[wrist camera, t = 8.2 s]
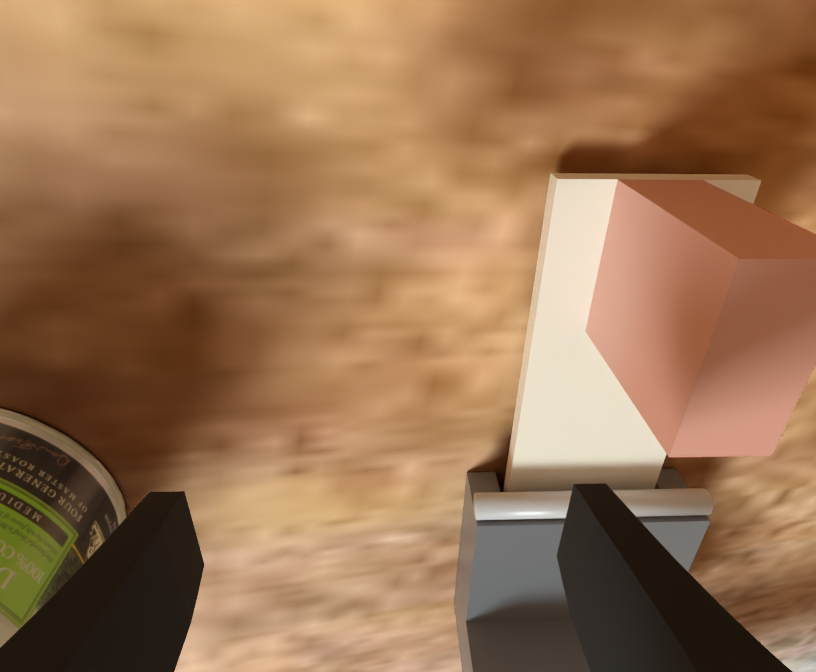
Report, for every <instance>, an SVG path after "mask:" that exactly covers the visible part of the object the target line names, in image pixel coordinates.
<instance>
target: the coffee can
mask: <svg viewBox="0 0 816 672" xmlns="http://www.w3.org/2000/svg"><path fill="white" fill-rule="evenodd" d="M126 517H127V515H126V508H125V503H124V499H123V496H122V493H121V492H120V490H119V488H118V486H117V484H116V482H115V481H114V479H113V478H112V476H111V475H110V473H109V472H108V471H107V470H106V468H105V467H104V466H103V465H102V464H101V463H100V462H99V461H98V460H97V459H96V458H95V457H94V456H93V455H92V454H91V453H90V452H89V451H87V450H86V449H85V448H84V447H83V446H81V445H80V444H79V443H77V442H76V441H74V440H73V439H71V438H70V437H68V436H67V435H65V434H63V433H62V432H60V431H58V430H56V429H54V428H52V427H49V426H47V425H45V424H43V423H41V422H39V421H38V420H35V419H32V418H30V417H28V416H25V415H23V414H20V413H17V412H14V411H10V410H6V409H2V408H0V647H1V646H2V645H4V644H5V643H6V642H7V641H8V640H9V639H10V638H11V637H12V636H13V635H14V634H15V633H16V632H17V631H18V630H19V629H20V628H21V627H22V626H23V625H24V624H25V623H26V622H27V621H28V620H29V619H30V618H31V617H32V616H33V615H34V614H35V613H36V612H37V611H38V610H39V609H40V608H41V607H42V606H43V605H44V604H45V603H46V602H47V601H48V600H49V599H50V598H51V597H52V596H53V595H54V594H55V593H56V592H57V591H58V590H59V589H60V588H61V587H62V586H63V585H64V584H65V583H66V582H67V580H68V579H69V578H70V577H71V576H72V575H73V574H74V573H75V572H76V571H77V570H78V569H79V568H80V567H81V566H82V565H83V564H84V563H85V562H86V561H87V560H88V558H89V557H90V556H91V555H92V554H93V553H94V552H95V551H96V550H97V549H98V548H99V547H100V546H101V544H102V543H103V542H104V541H105V540H106V539H107V538H108V537H109V536H110V535H111V534H112V533H113V531H114V530H115V529H116V528H117V527H118V526H119V525H120V524H121V523H122V522H123V520H124V519H125V518H126Z"/></svg>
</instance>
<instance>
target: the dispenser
mask: <svg viewBox="0 0 816 672" xmlns="http://www.w3.org/2000/svg"><path fill="white" fill-rule="evenodd" d="M612 491H613V492H614V493H615V494H616V495H617V496H618V497H619V498H620V499H621V500H622V501H623V503H624V504H625V505H626V506H627V507H628V508H629V509H630V510H631V511H632V512H633V514H634V515H635V516H636V517H637V518H638V519H639V520H640V521H641V522H642V523H643V525H644V526H645V527H646V528H647V529H648V530H649V531H650V532H651V533H652V534H653V535H654V537H655V538H656V539H657V540H658V541H659V542H660V543H661V544H662V545H663V546H664V547H665V548H666V550H667V551H668V552H669V553H670V554H671V555H672V556H673V557H674V558H675V559H676V560H677V561H678V562H679V563H680V564H681V565H682V566H683V567H684V568H685V569H686V570H687V571H689V569H690V567H691V564H692V562H693V560H694V558H695V555H696V553H697V551H698V549H699V546H700V544H701V542H702V539H703V537H704V535H705V533H706V530H707V528H708V526H709V524H710V519H709V518H708V516H707V515H710V514H711V513H712V511H713V499H712V496H711V494H710V493H709V491H708V490H707V489H705V488H688V486H687V485H686V483H685V482H684V480H683V479H682V477H681V476H680V474H679V473H678V471H677V470H676V469H661V471H660V474H659V477H658V480H657V483H656V486H655V489H638V490H612ZM571 494H572V491H537V492H500V489H499V485H498V481H497V477H496V473H495V472H467V477H466V487H465V497H464V507H463V517H462V527H461V537H460V548H459V558H458V568H457V578H456V588H455V598H454V607H455V615H456V623H457V631H458V639H459V647H460V655H461V663H462V671H463V672H590V669H589V666H588V663H587V660H586V658H585V655H584V652H583V649H582V646H581V643H580V640H579V638H578V635H577V632H576V629H575V626H574V623H573V620H572V617H571V614H570V611H569V607H568V603H567V599H566V595H565V591H564V587H563V582H562V578H561V573H560V569H559V564H558V560H557V552H558V548H559V544H560V539H561V535H562V531H563V527H564V523H565V519H566V514H567V510H568V506H569V502H570V498H571Z"/></svg>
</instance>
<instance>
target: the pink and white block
mask: <svg viewBox="0 0 816 672" xmlns="http://www.w3.org/2000/svg"><path fill="white" fill-rule="evenodd" d="M761 181H762V180H760V179H757V178H755V177H752V176H750V175H745V174H610V173H550V180H549V186H548V193H547V200H546V207H545V213H544V220H543V227H542V233H541V240H540V247H539V253H538V260H537V267H536V274H535V280H534V287H533V294H532V300H531V307H530V314H529V320H528V327H527V334H526V341H525V347H524V354H523V361H522V367H521V374H520V381H519V388H518V394H517V401H516V408H515V414H514V421H513V428H512V434H511V441H510V448H509V455H508V461H507V468H506V475H505V481H504V488H503V492H537V491H572V489H573V485H574V484H596V483H606V484H607V485H608V486H609V487H610V488H611V489H612V490H638V489H655V486H656V483H657V480H658V477H659V474H660V471H661V468H662V466H663V463H664V460H665V457H666V454H667V455H668V457H727V456H772V454H773V452H774V450H775V448H776V446H777V444H778V442H779V440H780V437H781V435H782V433H783V431H784V429H785V427H786V425H787V423H788V421H789V419H790V417H791V415H792V412H793V410H794V408H795V406H796V404H797V402H798V400H799V398H800V396H801V394H802V392H803V390H804V388H805V385H806V383H807V381H808V379H809V377H810V375H811V373H812V371H813V369H814V367H815V365H816V234H814V233H812V232H810V231H807V230H805V229H803V228H801V227H799V226H797V225H795V224H793V223H791V222H789V221H787V220H785V219H783V218H781V217H778V216H776V215H774V214H772V213H770V212H768V211H766V210H764V209H762V208H760V207H758V206H756V205H754V201H755V198H756V195H757V193H758V190H759V187H760V184H761Z"/></svg>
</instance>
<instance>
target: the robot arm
mask: <svg viewBox="0 0 816 672" xmlns="http://www.w3.org/2000/svg"><path fill="white" fill-rule="evenodd" d="M557 560H558V564H559V569H560V573H561V578H562V582H563V587H564V591H565V595H566V599H567V603H568V607H569V611H570V614H571V617H572V620H573V623H574V626H575V629H576V632H577V635H578V638H579V640H580V643H581V646H582V649H583V652H584V655H585V658H586V660H587V663H588V666H589V669H590V672H792V671H791V670H790V669H788V668H787V667H786V666H785V665H784V664H783V663H782V662H781V661H779V660H778V659H777V658H776V657H775V656H774V655H773V654H772V653H771V652H769V651H768V650H767V649H766V648H765V647H764V646H763V645H762V644H761V643H760V642H759V641H757V640H756V639H755V638H754V637H753V636H752V635H751V634H750V633H749V632H748V631H747V630H746V629H745V628H744V627H743V626H742V625H741V624H740V623H739V622H737V621H736V620H735V619H734V618H733V617H732V616H731V615H730V614H729V613H728V612H727V611H726V610H725V609H724V608H723V607H722V606H721V605H720V604H719V603H718V602H717V601H716V600H715V599H714V598H713V597H712V596H711V595H710V594H709V593H708V592H707V591H706V590H705V589H704V588H703V587H702V586H701V585H700V584H699V583H698V582H697V581H696V580H695V579H694V578H693V577H692V576H691V575H690V574H689V573H688V571H687V570H686V569H685V568H684V567H683V566H682V565H681V564H680V563H679V562H678V561H677V560H676V559H675V558H674V557H673V556H672V555H671V554H670V553H669V552H668V551H667V550H666V548H665V547H664V546H663V545H662V544H661V543H660V542H659V541H658V540H657V539H656V538H655V537H654V535H653V534H652V533H651V532H650V531H649V530H648V529H647V528H646V527H645V526H644V525H643V523H642V522H641V521H640V520H639V519H638V518H637V517H636V516H635V515H634V514H633V512H632V511H631V510H630V509H629V508H628V507H627V506H626V505H625V504H624V503H623V501H622V500H621V499H620V498H619V497H618V496H617V495H616V494H615V493H614V492H613V491H612V489H611V488H610V487H609V486H608V485H607V484H606V483H596V484H574V485H573V489H572V494H571V498H570V502H569V506H568V510H567V514H566V519H565V523H564V527H563V531H562V535H561V539H560V544H559V548H558V552H557ZM203 568H204V562H203V558H202V555H201V551H200V547H199V544H198V540H197V536H196V532H195V529H194V525H193V521H192V518H191V514H190V510H189V507H188V503H187V499H186V496H185V492H184V491H181V492H150V493H149V494H148V495H147V496H146V497H145V498H144V499H143V500H142V501H141V502H140V503H139V504H138V505H137V506H136V507H135V508H134V510H133V511H132V512H131V513H130V514H129V515H128V516H127V517H126V518H125V519H124V520H123V522H122V523H121V524H120V525H119V526H118V527H117V528H116V529H115V530H114V531H113V533H112V534H111V535H110V536H109V537H108V538H107V539H106V540H105V541H104V542H103V543H102V544H101V546H100V547H99V548H98V549H97V550H96V551H95V552H94V553H93V554H92V555H91V556H90V557H89V558H88V560H87V561H86V562H85V563H84V564H83V565H82V566H81V567H80V568H79V569H78V570H77V571H76V572H75V573H74V574H73V575H72V576H71V577H70V578H69V579H68V580H67V582H66V583H65V584H64V585H63V586H62V587H61V588H60V589H59V590H58V591H57V592H56V593H55V594H54V595H53V596H52V597H51V598H50V599H49V600H48V601H47V602H46V603H45V604H44V605H43V606H42V607H41V608H40V609H39V610H38V611H37V612H36V613H35V614H34V615H33V616H32V617H31V618H30V619H29V620H28V621H27V622H26V623H25V624H24V625H23V626H22V627H21V628H20V629H19V630H18V631H17V632H16V633H15V634H14V635H13V636H12V637H11V638H10V639H9V640H8V641H7V642H6V643H5V644H4V645H2V646H1V647H0V672H174V670H175V667H176V665H177V662H178V659H179V656H180V653H181V650H182V647H183V644H184V641H185V639H186V636H187V633H188V630H189V627H190V624H191V620H192V616H193V612H194V608H195V604H196V599H197V595H198V591H199V586H200V582H201V577H202V572H203Z"/></svg>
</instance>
